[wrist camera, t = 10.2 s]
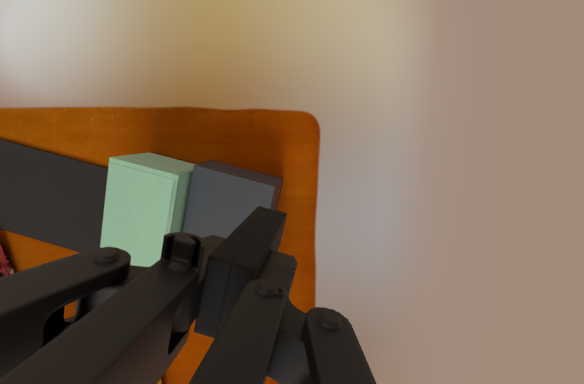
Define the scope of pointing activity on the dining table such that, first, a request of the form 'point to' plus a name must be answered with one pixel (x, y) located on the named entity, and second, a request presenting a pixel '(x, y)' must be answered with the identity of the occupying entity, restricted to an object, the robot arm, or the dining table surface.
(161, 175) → the open box
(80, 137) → the dining table surface
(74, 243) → the mat
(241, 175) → the block
